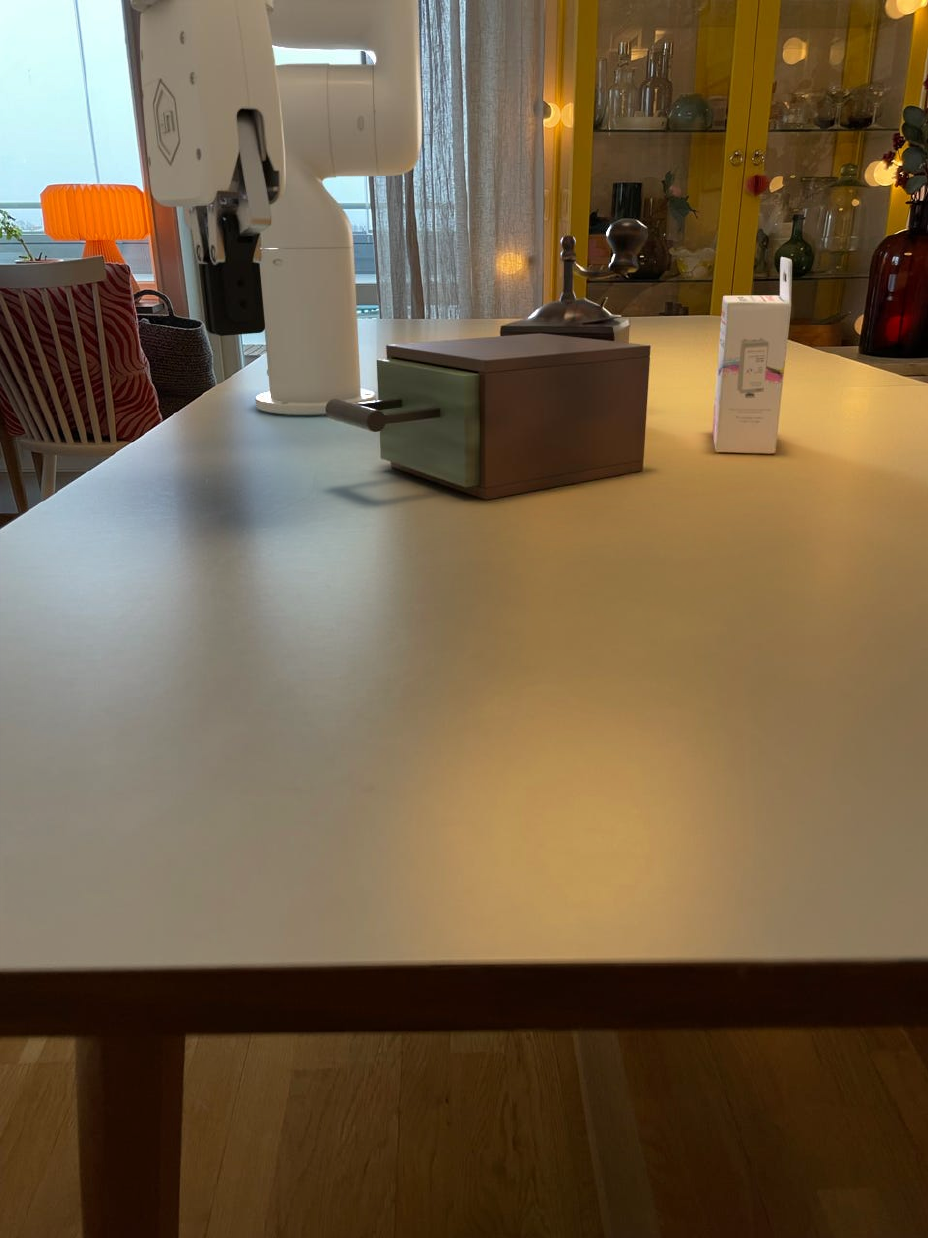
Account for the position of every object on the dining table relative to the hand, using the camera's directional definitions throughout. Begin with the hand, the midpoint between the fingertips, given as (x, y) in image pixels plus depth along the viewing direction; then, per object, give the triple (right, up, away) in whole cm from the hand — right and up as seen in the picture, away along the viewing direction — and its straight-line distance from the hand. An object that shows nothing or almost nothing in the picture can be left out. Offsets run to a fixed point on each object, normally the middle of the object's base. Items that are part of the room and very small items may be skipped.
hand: (236, 332), depth 57 cm
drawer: (+14, -6, +11) cm, 19 cm away
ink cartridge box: (+37, -3, +22) cm, 43 cm away
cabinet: (+18, -6, +14) cm, 23 cm away
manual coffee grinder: (+25, +1, +33) cm, 41 cm away
